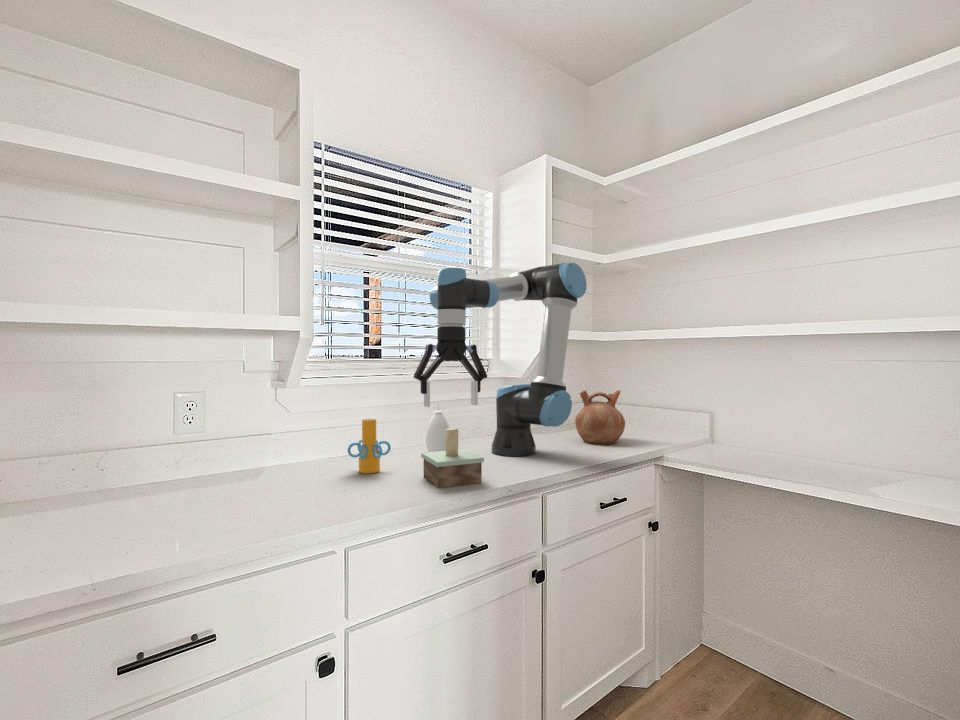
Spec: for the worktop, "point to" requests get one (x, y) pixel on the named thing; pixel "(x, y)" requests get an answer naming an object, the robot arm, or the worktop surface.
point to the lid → (452, 453)
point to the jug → (600, 419)
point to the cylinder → (369, 448)
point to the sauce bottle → (437, 432)
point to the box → (453, 474)
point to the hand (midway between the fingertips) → (451, 405)
